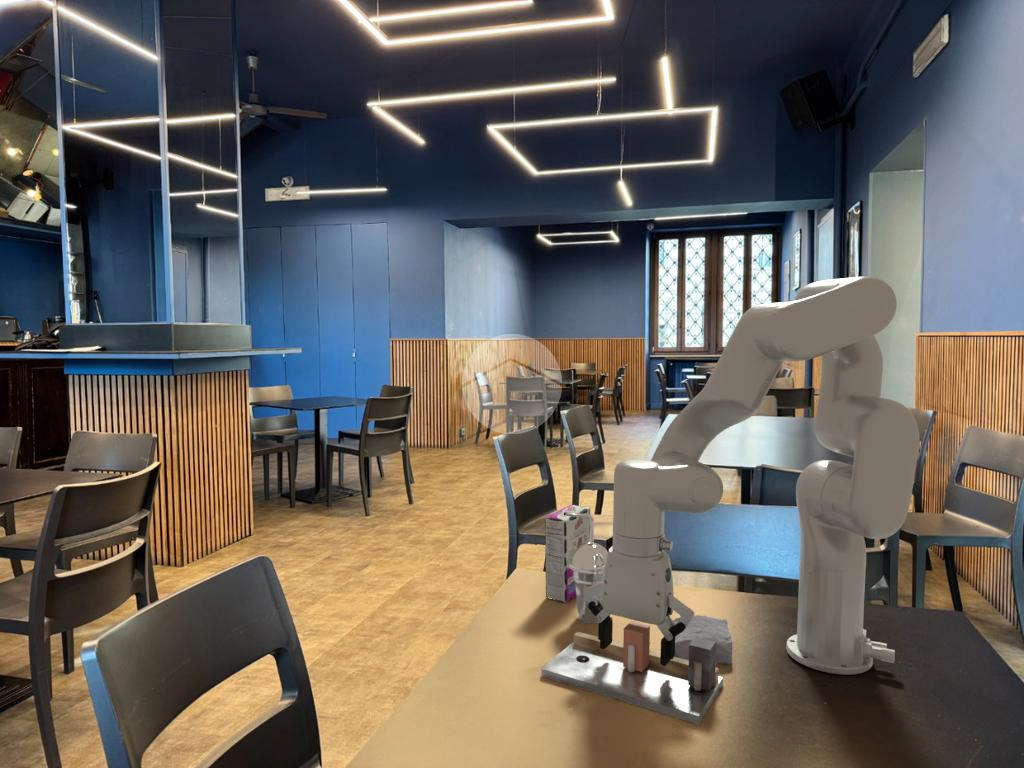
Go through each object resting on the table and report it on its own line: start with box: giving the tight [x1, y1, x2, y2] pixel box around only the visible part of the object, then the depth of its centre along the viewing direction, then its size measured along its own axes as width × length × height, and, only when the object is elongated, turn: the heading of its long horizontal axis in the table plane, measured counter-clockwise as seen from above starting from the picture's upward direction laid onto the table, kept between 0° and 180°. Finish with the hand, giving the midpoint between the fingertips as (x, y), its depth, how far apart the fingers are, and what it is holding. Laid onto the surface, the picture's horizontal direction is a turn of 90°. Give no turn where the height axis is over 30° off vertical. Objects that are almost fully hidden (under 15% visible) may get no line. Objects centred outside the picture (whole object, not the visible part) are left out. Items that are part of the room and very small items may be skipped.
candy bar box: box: [544, 504, 591, 604], centre depth 136 cm, size 11×5×16 cm, turn 148°
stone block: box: [672, 614, 733, 666], centre depth 113 cm, size 12×5×10 cm
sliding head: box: [623, 620, 651, 672], centre depth 103 cm, size 3×4×6 cm
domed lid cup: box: [564, 512, 608, 624], centre depth 124 cm, size 8×9×20 cm
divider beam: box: [573, 631, 719, 691], centre depth 104 cm, size 23×6×6 cm, turn 58°
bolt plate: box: [540, 640, 724, 725], centre depth 102 cm, size 24×12×1 cm, turn 58°
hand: (635, 653), depth 104 cm, fingers open, 9 cm apart
